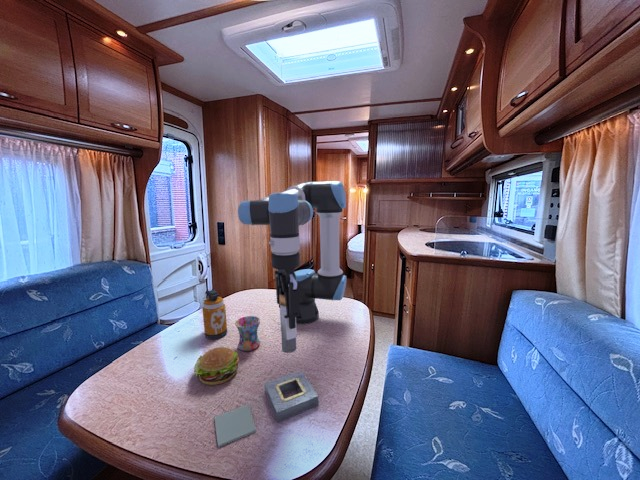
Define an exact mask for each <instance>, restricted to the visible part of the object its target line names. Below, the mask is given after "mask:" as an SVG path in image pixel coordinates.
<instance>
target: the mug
mask: <svg viewBox="0 0 640 480" xmlns="http://www.w3.org/2000/svg"><path fill="white" fill-rule="evenodd" d="M260 323H261V319H260V317H258V316H255V315H248V316H243V317H240V318H238V319H237V320H235V323H234V325H235V327H236V328H237V331H238V335H239V340H238V344H237V348H238V349H239V350H240V351H243V352H249V351H253V350H255V349H257V348H258V347H259V346H260V344H261V340H260V339H259V337H258V329H259V326H260Z"/></svg>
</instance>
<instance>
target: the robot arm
mask: <svg viewBox="0 0 640 480" xmlns="http://www.w3.org/2000/svg"><path fill="white" fill-rule="evenodd" d="M346 208H347V194H346V188H345V187H344V184H343V182H341V181H339V180H324V181H323V180H322V181H320V180H319V181H305V182H302V183H301V182H300V183H298V184H295V185H291V186H289V187H288V188H286V189H285V191H282V192H272V193H270V194H269V196H266V197H263V198H260V199H257V200H254V199H252V200H251V199H249V200H243V201H241V202H240V204H239V205H238V207H237V215H238V216H237V217H238V220H239V221H240V222H241V223H242V224H243V225H249V226H269V235H270V236H269V237H270V240H269V241H268V245H270V252H272V253H271V254H270V259H271V260H270V261H271V262H270V263H271V268H272V269H274V272H273V273H274V276H275V278H274V279H275V289H276V292H275V293H276V294H275V295H276V304H277V305H278V307H279V309H280V299H279V295H280V294H281V293H285V303H286V312H287V315H285V316H284V318H286V339H287V340H289V339H292V338H296V339H297V338H298V337H297V334H298V333H297V325H306V324H312V323H314V322H316V321H317V320H318V319H319V318H320V313H319V309H318V306H317V303H316V300H327V301H333V302H334V301H341V300H342V299H343V298H344V295H345V293H346V287H347V280H348V278H347V275H345V274H344V271H343V270H342V269H341V268H340V216H341V215H342V213H344V211H343V209H346ZM314 209H315V212H316V213H315V214H316V215H318V216H319V235H320V236H319V238H320V240H319V243H320V244H319V245H320V269H318V270H317V273H316V271H315V270H314V269H311V268H306V269H299V270H296V268H297V269H298V267H300V265H301V258H300V257H301V254H300V253H299V251H300V248H301V247H300V246H301V245H300V226H304V225H306V224H307V223H309V222H310V221H311V220H312V218H313V216H314ZM279 318H280V319H279V321H280V323H279V324H280V325H281V314H280V313H279Z"/></svg>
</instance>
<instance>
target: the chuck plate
mask: <svg viewBox="0 0 640 480" xmlns="http://www.w3.org/2000/svg"><path fill="white" fill-rule="evenodd" d="M294 390H295V391H297V394H294V395H292V396H288V397H287V398H285V397H284V394H288V393H289V392H292V391H294ZM264 393H265V395H266V397H267V401H268V402H269V406H270V408H271V410H272V413H273V415H274V418H275V421H276V423H280V422H283V421H285V420H288V419H291V418H293V417H294V416H297V415H299V414H301V413H304V412H306V411H309V410H311V409H313V408H315V407H318V406H319V395H318V393H317V392H316V390H315V389H314V387H313V385H312V384H311V382H310V381H309V380H308V378H307V377H306V375H305V374H304V372H303V371H302V370H299V371H297V372H293V373H291V374H288V375H285V376H282V377H279V378H276V379H273V380H271V381H267V382H265V383H264Z"/></svg>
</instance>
